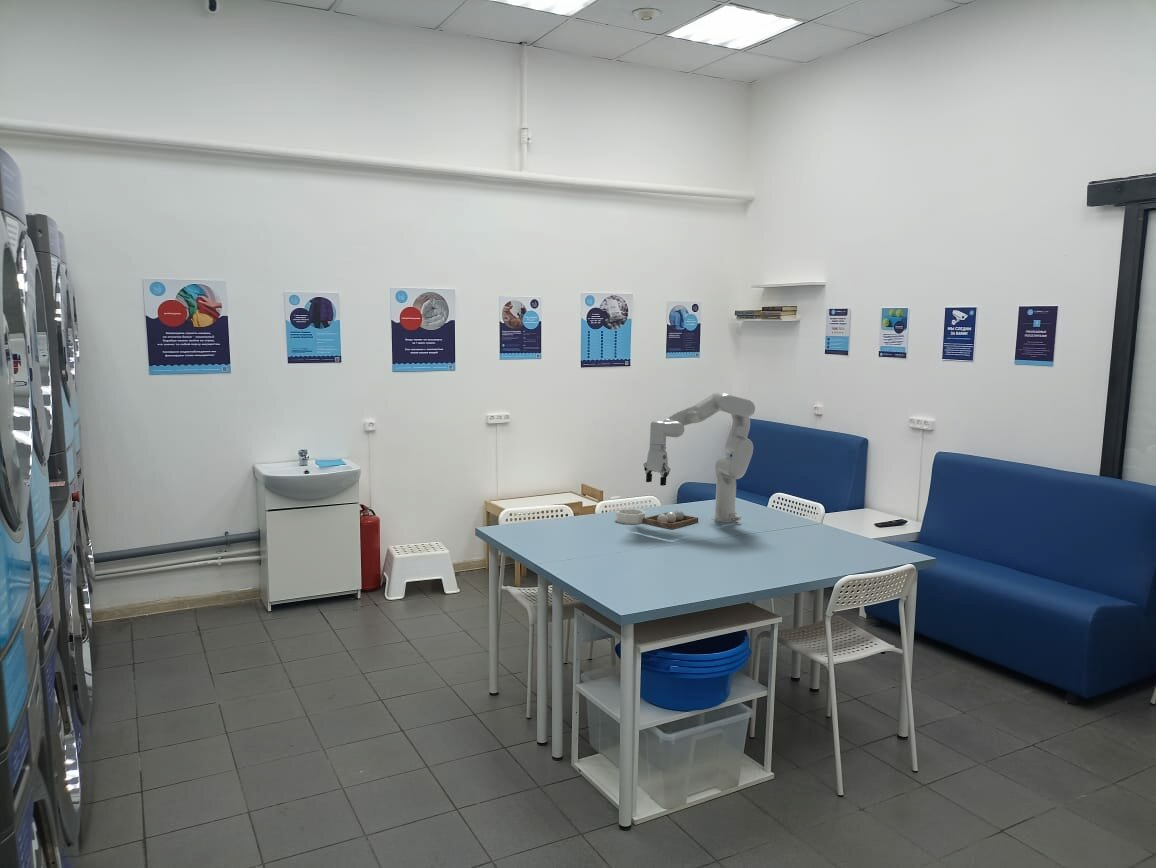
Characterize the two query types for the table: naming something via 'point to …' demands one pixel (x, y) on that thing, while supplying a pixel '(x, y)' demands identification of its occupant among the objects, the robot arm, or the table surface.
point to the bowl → (630, 516)
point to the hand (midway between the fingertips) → (655, 483)
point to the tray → (676, 524)
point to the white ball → (662, 518)
